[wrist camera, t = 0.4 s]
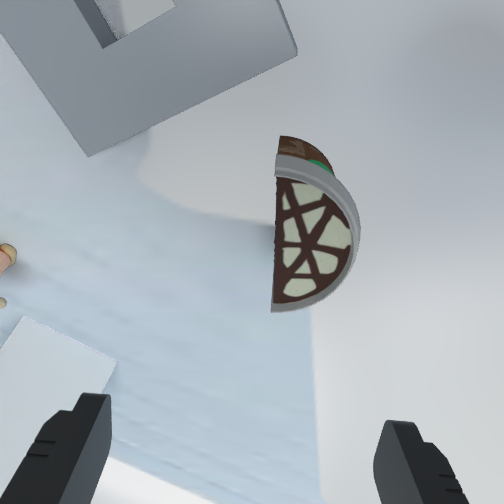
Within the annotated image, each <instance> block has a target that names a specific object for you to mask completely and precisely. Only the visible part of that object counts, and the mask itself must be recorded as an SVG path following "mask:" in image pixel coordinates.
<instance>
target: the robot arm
mask: <svg viewBox="0 0 504 504" xmlns="http://www.w3.org/2000/svg"><path fill="white" fill-rule="evenodd" d="M111 438H112V421H111V397H110V395H109V394H97V393H86V392H83V393H82V394H81V395H80V397H79V399H78V401H77V403H76V405H75V406H74V408H73V410H72V411H67V410H59V411H58V412H57V413H56V414H54V415H53V416H52V417H51V418H50V419H49V420H47V421H46V422H45V423H44V424H43V426H42V428H41V429H40V431H39V433H38V434H37V436H36V438H35V440H34V443H32V445H31V446H30V448H29V450H28V451H27V453H26V457H24V458H23V460H22V462H21V463H20V465H19V467H18V468H17V470H16V472H15V474H14V475H13V477H12V479H11V480H10V482H9V484H8V485H7V487H6V489H5V491H4V492H3V494H2V496H1V497H0V504H90V503H91V500H92V497H93V495H94V492H95V489H96V487H97V484H98V481H99V478H100V476H101V473H102V471H103V468H104V465H105V463H106V460H107V457H108V454H109V450H110V445H111ZM373 472H374V479H375V483H376V486H377V490H378V493H379V497H380V500H381V503H382V504H469V502H468V500H467V498H466V496H465V494H463V492H462V488H461V486H460V484H459V482H458V480H457V479H456V478H455V474H454V472H453V470H452V468H451V466H450V464H449V462H448V460H447V458H446V457H445V456H444V455H443V454H442V453H441V452H440V450H439V449H438V448H437V447H436V446H435V445H434V444H433V443H428V442H424V441H423V440H422V437H421V435H420V433H419V431H418V428H417V426H416V425H415V424H414V423H413V422H406V421H394V420H387V421H386V422H385V424H384V426H383V430H382V433H381V436H380V440H379V443H378V446H377V450H376V453H375V456H374V463H373Z"/></svg>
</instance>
